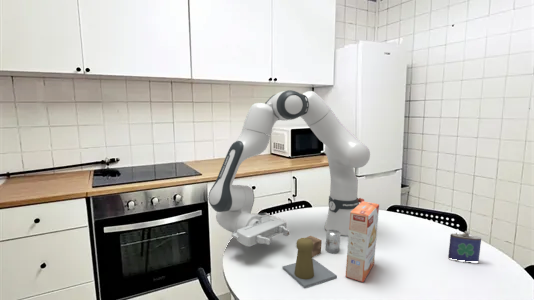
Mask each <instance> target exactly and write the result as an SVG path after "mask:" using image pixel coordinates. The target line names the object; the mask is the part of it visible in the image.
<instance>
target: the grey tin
mask: <svg viewBox="0 0 534 300" xmlns="http://www.w3.org/2000/svg"><path fill="white" fill-rule="evenodd" d="M340 243H341V235H340V232H339V231H337V230H332V229H331V230H326V232H325V247H324V248H325V252H326V253H328V254H333V255H337V254H339V253H340V245H341V244H340Z"/></svg>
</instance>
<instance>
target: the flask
mask: <svg viewBox="0 0 534 300" xmlns="http://www.w3.org/2000/svg"><path fill="white" fill-rule="evenodd" d="M470 234H471V233H470V232H469V231H468V230H465V231H464V233H458V232H455V233H450V234H449V235H450V237H449V248H448V255H447V257H448V259H449V258H452V259H457V260H465V261H479V262H480V252H481V244H482V238H481V236H477V235H476V236H475V235H470Z"/></svg>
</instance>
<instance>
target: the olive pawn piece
mask: <svg viewBox="0 0 534 300" xmlns="http://www.w3.org/2000/svg"><path fill="white" fill-rule="evenodd" d="M295 245H296V246H295V247H296V249H297V252H296V253H297V255H296V261H295V263H296V266H295V272H294V274H295V276H296V277H298V278H300V279H310V278H312V277H314V268H313V259H314V258H313V257H312V249H313V247H314V244H313V241H312V240H311V239H309V238H306V237H300V238H298V239H297V240H296V243H295Z"/></svg>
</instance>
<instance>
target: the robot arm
mask: <svg viewBox="0 0 534 300" xmlns="http://www.w3.org/2000/svg"><path fill="white" fill-rule="evenodd" d="M298 118H301V119H302V120H303V121H304V122H305V124H306V125H307V126H308V128H309V129H310V130H311V131H312V133H313V134H314V135H315V136H316V138H317V139H318V140H319V141H320V142H322V144H324V153H325V155H326V157H327V158H326V159H327V163H328V168H329V169H328V170H329V174H330V186H329V187H330V189H329V191H330V192H329V196H328V212H327V217H326V222H325V225H324V229H325V230H326V231H327V230H331V229H332V230H337V231H339V232H340V236H349V222H350V212H351V211H352V210H353V209H354V208H355V207H357V206H358V205H359V204H360V203H361V202H362V201H364V202H365V199H364V198H361V197H359V198H358V186H359V185H358V183H359V182H358V181H359V180H358V178H357V175H356V173H355V169H358V168H363V167H365V166H366V165H367V164H368V163H369V161H370V158H371V152H370V149H369V147H368V146H367V145H366V144H365V143H363V142H362V141H361V140H360V139H359V138H357V137H356V136H355V134H353V133H352V132H351V130H349V129H348V128H347V126H345V125H344V124H343V123H342V122H341V121H340V119H339V118H338V116H337V115H336V114H335V113H334V112H333V110H332V109H331V107H330V106H329V105H328V103H327V102H326V101H325V100H324V99H323V98H322V97H321V96H320V95H319V94H317V93H316V92H315V91H314V90H313V91H312V90H308V91H307V90H306V91H304V92H303V93H300V92H298V91H296V90H293V89H292V90H290V89H289V90H284V91H282V90H281V91H280V92H277V93H276V94H273V95H272V96H271V97H269V98H268V99H267V100H266V102H265V103H264V102H255V103H253V104H252V105H251V106H250V107H249V110H248V112H247V114H246V116H245V120H244V122H243V126H242V129H241V132H240V135H239V136H238V138H237V139H236V140H235V141H234V142H233V143H232V144H231V145H230V146H229V149H228V151H227V153H226V155H225V158H224V161H223V164H222V165H221V167H220V170H219V172H218V175H217V178H216V180H215V181H214V183H213V185H212V186H211V189H210V191H209V192H208V198H207V199H208V203H209V205H210V207H211V208H212V209H213V210H214V211H215V212H216V213H215V219H216V222H217V224H218V225H219V226H220V227H221V228H223V229H225V230H226V231H228V232H230V233H231V237H232V238H233V239H236V241H237V242H238V243H240V244H241V245H242V246H245V247H253V246H254V245H257V244H263V245H268V246H269V245H271V244H273V238H272V237H275V236H277V235H279V234H282V236H285V237H288V236H290V235H291V231H290V230H289V229H287V221H286V220H284V219H282V218H280V217H277V216H274V215H270V214H269V213H267V212H261V213H260V212H259V213H251V212H252V210H253V206H254V203H255V193H254V191H253V189H252V188H251V187H250V186H248V185H242V184H233V183H234V180H235V178H236V175H237V173H238V171H239V168H240V166H241V164H243V162H244V161H245V160H247V159H249V158H252V157H255V156H258V155H259V156H260V154H262V153H264V152H266V150H267V148H268V145H269V144H270V139H271V136H272V131H273V128H274V125H275V124H276V122H278V121H290V120H295V119H298Z"/></svg>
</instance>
